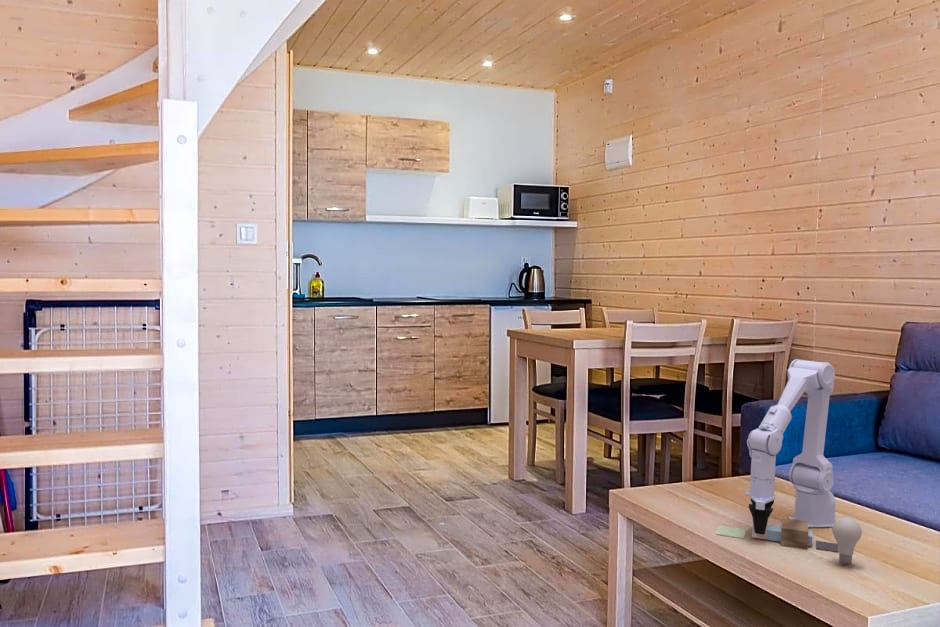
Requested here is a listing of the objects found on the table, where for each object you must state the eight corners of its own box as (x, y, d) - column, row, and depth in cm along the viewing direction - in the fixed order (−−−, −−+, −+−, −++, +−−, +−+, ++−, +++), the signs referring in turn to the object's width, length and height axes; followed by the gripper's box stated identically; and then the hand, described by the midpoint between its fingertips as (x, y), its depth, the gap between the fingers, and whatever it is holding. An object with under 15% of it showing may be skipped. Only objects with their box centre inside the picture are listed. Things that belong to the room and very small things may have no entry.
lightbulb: (826, 564, 176) (828, 517, 176) (836, 557, 180) (838, 511, 180) (854, 571, 172) (856, 523, 171) (863, 565, 176) (866, 518, 175)
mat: (746, 530, 198) (746, 529, 198) (744, 538, 192) (744, 537, 192) (718, 526, 201) (718, 525, 201) (715, 534, 195) (715, 533, 195)
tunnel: (807, 538, 193) (808, 521, 193) (807, 549, 185) (808, 531, 185) (781, 534, 196) (782, 517, 196) (780, 545, 188) (781, 527, 187)
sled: (811, 539, 191) (812, 516, 191) (811, 546, 187) (813, 522, 186) (753, 531, 197) (754, 508, 196) (752, 537, 192) (753, 513, 192)
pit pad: (842, 545, 189) (842, 544, 189) (843, 553, 183) (843, 552, 183) (816, 541, 191) (816, 540, 191) (816, 549, 186) (816, 548, 186)
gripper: (747, 468, 201) (745, 519, 202) (743, 481, 188) (741, 536, 189) (776, 472, 198) (774, 523, 199) (774, 485, 185) (772, 541, 186)
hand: (760, 530), depth 194 cm, fingers closed on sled, 5 cm apart
